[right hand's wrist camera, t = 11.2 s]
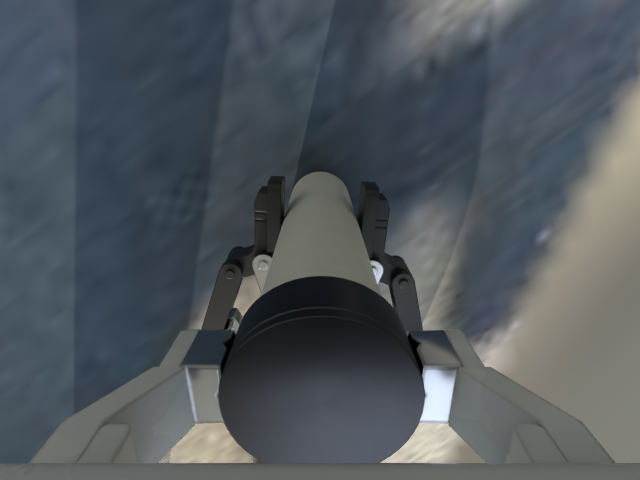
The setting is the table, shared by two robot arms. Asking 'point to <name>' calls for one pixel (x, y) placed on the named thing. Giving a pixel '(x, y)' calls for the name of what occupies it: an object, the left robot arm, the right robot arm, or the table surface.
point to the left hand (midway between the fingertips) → (322, 183)
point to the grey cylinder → (320, 236)
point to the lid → (321, 376)
